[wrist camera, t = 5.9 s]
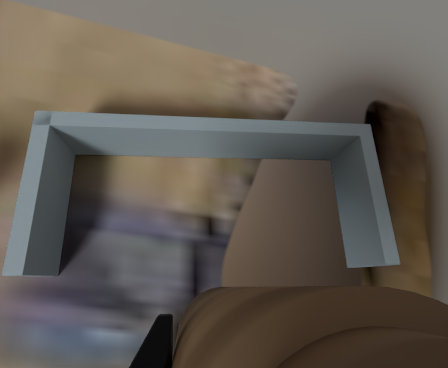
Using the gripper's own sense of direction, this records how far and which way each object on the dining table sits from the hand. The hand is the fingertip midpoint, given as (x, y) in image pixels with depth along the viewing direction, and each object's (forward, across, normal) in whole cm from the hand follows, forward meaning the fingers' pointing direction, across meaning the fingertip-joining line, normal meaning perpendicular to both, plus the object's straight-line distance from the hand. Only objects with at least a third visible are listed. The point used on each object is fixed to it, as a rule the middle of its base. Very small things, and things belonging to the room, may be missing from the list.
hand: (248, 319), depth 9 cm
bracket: (+13, 0, +4) cm, 14 cm away
